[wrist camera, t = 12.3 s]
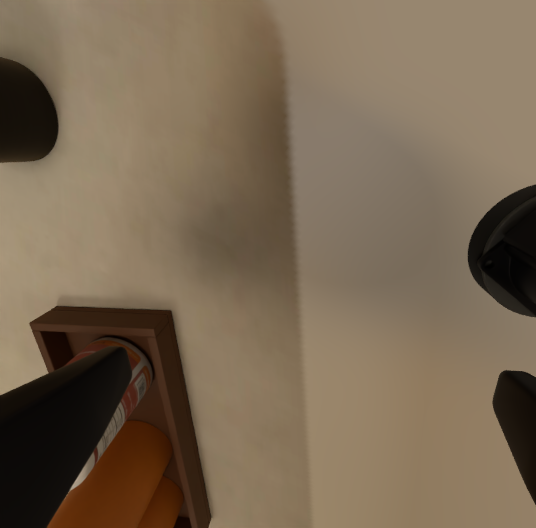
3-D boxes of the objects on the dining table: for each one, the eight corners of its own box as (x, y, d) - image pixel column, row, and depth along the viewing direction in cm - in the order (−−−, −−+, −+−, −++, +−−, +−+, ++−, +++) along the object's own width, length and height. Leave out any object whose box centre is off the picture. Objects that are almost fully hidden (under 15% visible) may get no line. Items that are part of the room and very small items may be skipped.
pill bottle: (74, 347, 26) (-88, 479, 15) (126, 324, 24) (-19, 457, 14) (117, 400, 27) (-6, 552, 17) (169, 382, 25) (66, 541, 15)
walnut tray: (56, 306, 25) (28, 322, 23) (171, 310, 23) (153, 329, 21) (125, 504, 34) (110, 531, 32) (211, 518, 32) (202, 548, 30)
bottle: (185, 445, 28) (108, 615, 18) (155, 474, 30) (72, 638, 20) (130, 408, 27) (17, 562, 17) (104, 441, 30) (-8, 592, 20)
